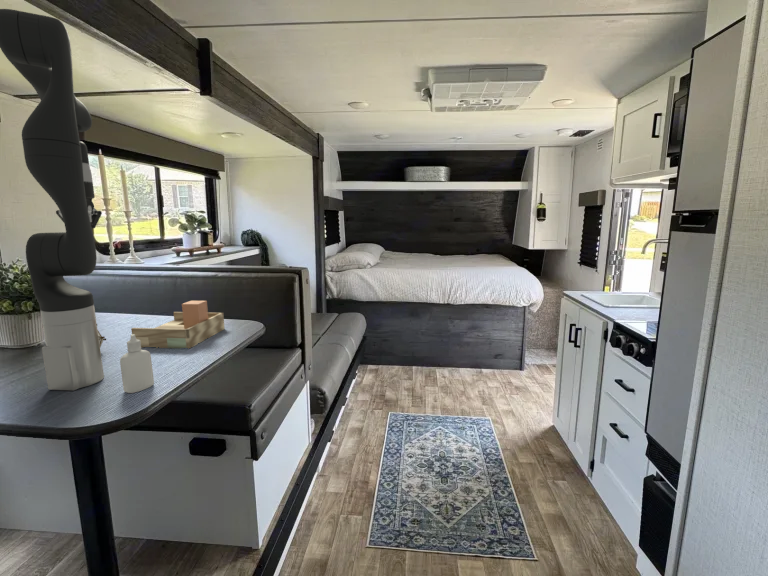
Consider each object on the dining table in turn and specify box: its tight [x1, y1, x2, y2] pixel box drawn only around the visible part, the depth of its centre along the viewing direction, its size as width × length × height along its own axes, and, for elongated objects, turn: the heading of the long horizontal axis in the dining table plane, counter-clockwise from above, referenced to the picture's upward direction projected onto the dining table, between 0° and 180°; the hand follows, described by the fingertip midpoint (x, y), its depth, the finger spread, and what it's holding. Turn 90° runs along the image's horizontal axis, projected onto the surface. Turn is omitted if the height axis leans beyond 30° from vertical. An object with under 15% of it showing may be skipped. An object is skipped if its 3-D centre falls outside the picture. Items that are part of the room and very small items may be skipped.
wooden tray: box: [131, 311, 225, 350], centre depth 122 cm, size 20×17×6 cm
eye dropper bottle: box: [119, 334, 155, 394], centre depth 85 cm, size 4×6×12 cm
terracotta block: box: [181, 300, 209, 329], centre depth 121 cm, size 5×5×8 cm
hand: (84, 244), depth 112 cm, fingers closed
